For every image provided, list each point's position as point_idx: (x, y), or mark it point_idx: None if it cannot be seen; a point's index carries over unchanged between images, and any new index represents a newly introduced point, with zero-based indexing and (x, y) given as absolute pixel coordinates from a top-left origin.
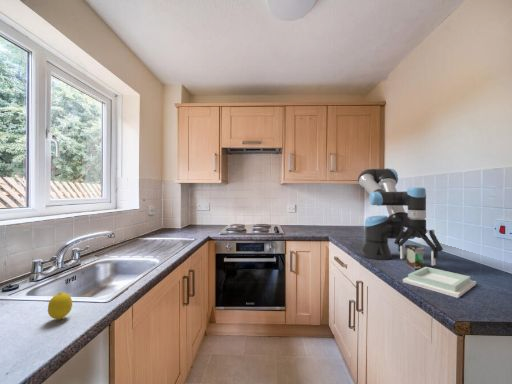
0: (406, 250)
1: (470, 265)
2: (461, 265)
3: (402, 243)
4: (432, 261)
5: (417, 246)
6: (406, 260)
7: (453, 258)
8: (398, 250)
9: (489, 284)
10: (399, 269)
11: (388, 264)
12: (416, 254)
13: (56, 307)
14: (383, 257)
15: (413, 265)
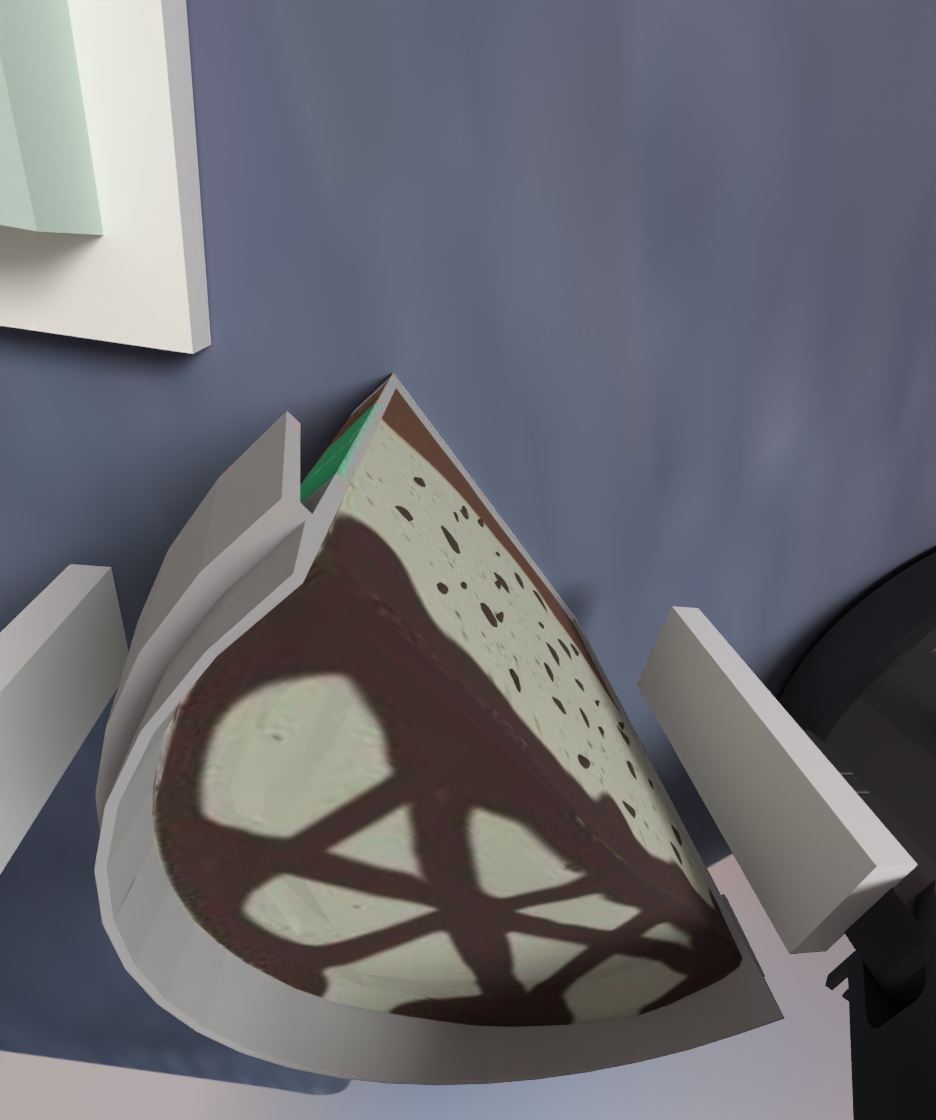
0: (672, 825)
1: (54, 991)
2: (101, 951)
3: (931, 1004)
4: (30, 621)
5: (468, 1052)
6: (591, 657)
7: None
8: (833, 750)
9: None
10: (638, 141)
11: (833, 383)
12: (306, 491)
13: None
14: (921, 602)
15: (428, 442)
